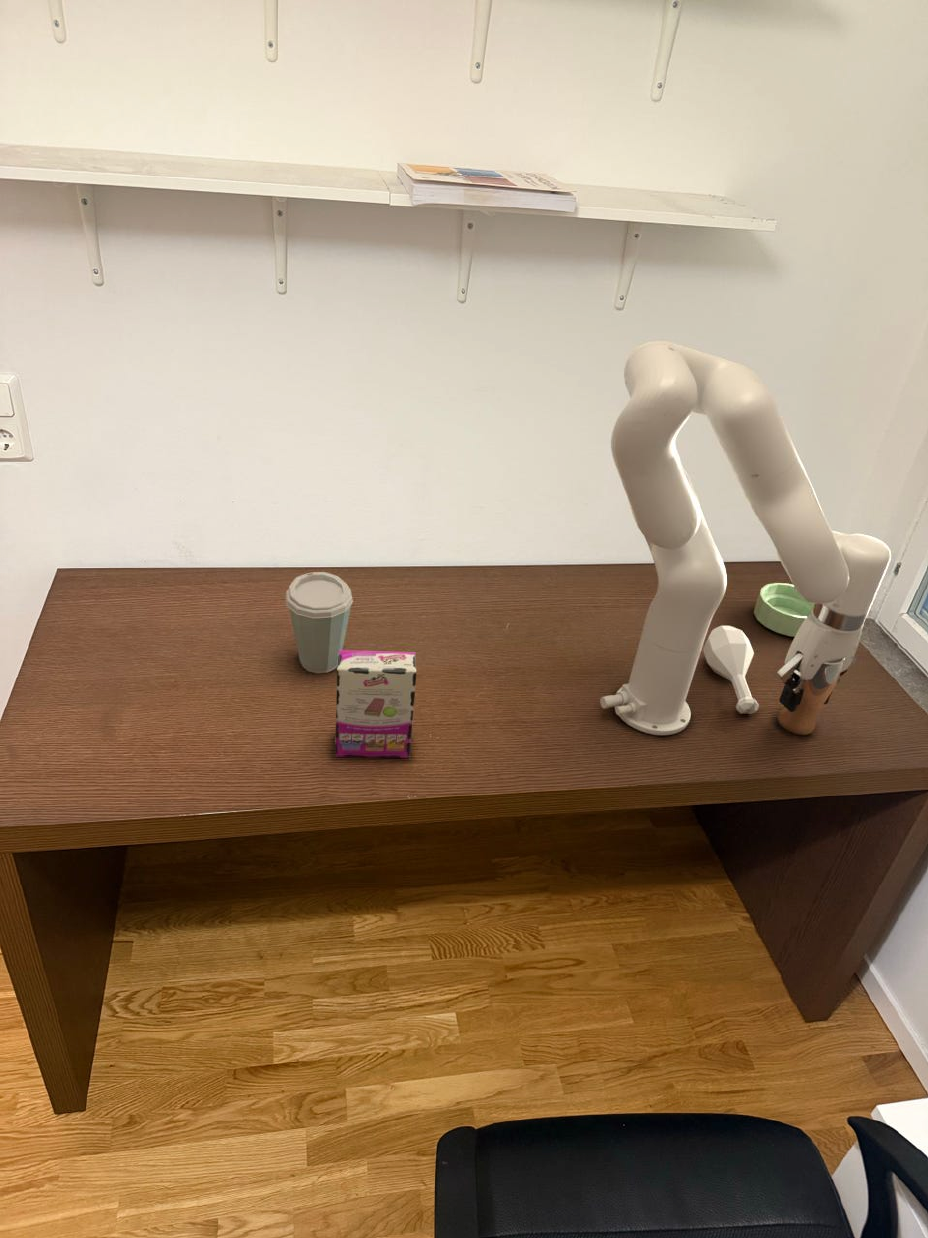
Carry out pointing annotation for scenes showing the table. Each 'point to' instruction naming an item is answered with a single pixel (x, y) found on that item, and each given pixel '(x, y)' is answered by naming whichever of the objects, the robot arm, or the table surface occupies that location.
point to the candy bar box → (374, 703)
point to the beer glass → (811, 699)
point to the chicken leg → (732, 662)
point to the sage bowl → (782, 608)
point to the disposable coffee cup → (319, 618)
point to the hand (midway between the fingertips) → (803, 702)
